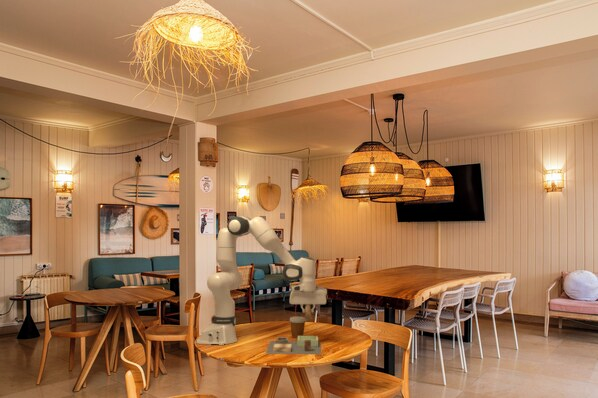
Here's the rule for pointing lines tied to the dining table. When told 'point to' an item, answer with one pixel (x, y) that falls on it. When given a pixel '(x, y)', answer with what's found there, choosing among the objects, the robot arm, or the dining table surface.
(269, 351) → the bench mat
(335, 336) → the dining table surface
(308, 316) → the oak dowel
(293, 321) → the disposable coffee cup
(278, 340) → the dowel socket
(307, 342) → the bench dog
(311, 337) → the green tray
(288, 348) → the beech plate
